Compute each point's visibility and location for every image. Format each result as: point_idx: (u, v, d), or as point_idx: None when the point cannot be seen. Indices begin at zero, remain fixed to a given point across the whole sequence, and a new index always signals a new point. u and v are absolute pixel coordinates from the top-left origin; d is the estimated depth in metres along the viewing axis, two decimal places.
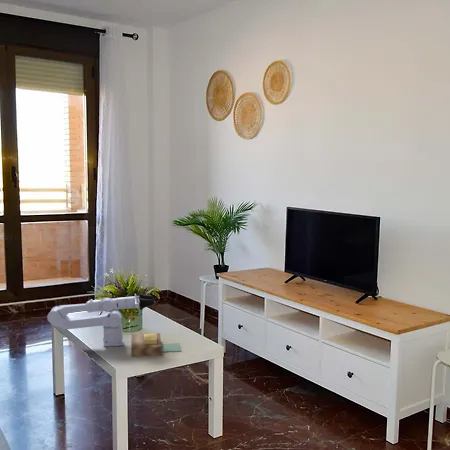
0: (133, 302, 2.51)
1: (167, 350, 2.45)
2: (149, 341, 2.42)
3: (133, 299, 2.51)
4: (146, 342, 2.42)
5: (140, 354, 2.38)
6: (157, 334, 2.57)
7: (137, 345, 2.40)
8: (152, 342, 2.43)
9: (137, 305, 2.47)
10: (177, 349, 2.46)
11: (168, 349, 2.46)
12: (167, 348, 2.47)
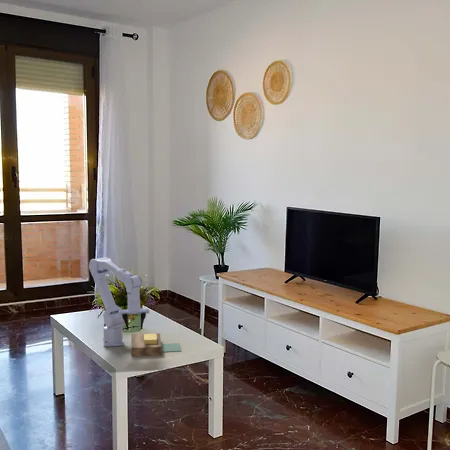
0: (128, 308, 2.43)
1: (167, 350, 2.45)
2: (149, 341, 2.42)
3: (129, 309, 2.41)
4: (146, 342, 2.42)
5: (140, 354, 2.38)
6: (157, 334, 2.57)
7: (137, 345, 2.40)
8: (152, 342, 2.43)
9: (118, 313, 2.42)
10: (177, 349, 2.46)
11: (168, 349, 2.46)
12: (167, 348, 2.47)
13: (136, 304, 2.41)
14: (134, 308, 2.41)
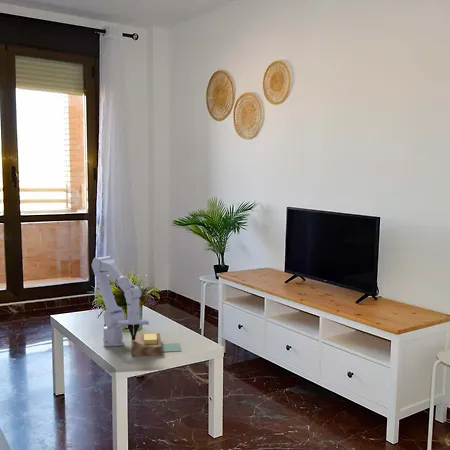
0: (127, 319, 2.43)
1: (167, 350, 2.45)
2: (149, 341, 2.42)
3: (128, 320, 2.42)
4: (146, 342, 2.42)
5: (140, 354, 2.38)
6: (157, 334, 2.57)
7: (137, 345, 2.40)
8: (152, 342, 2.43)
9: (118, 323, 2.43)
10: (177, 349, 2.46)
11: (168, 349, 2.46)
12: (167, 348, 2.47)
13: (136, 315, 2.42)
14: (133, 319, 2.42)
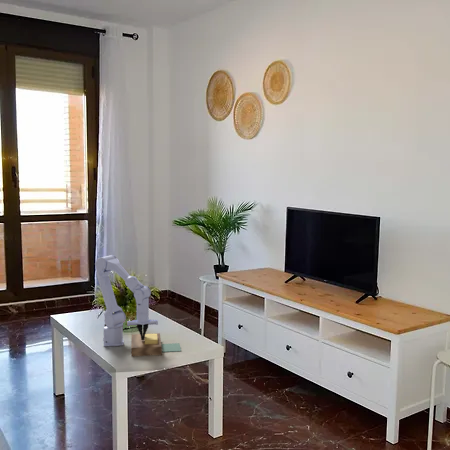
0: None
1: (167, 350, 2.45)
2: (150, 341, 2.42)
3: (138, 320, 2.43)
4: (147, 342, 2.42)
5: (140, 354, 2.38)
6: (157, 334, 2.57)
7: (137, 345, 2.40)
8: (153, 342, 2.43)
9: (127, 323, 2.44)
10: (177, 349, 2.46)
11: (168, 349, 2.46)
12: (167, 348, 2.47)
13: (145, 315, 2.43)
14: (143, 319, 2.42)
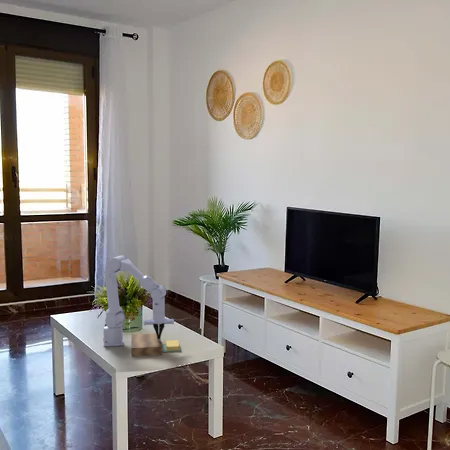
0: (153, 319, 2.45)
1: None
2: (174, 348, 2.44)
3: (154, 320, 2.44)
4: (177, 347, 2.45)
5: (140, 354, 2.38)
6: None
7: (137, 345, 2.40)
8: (171, 347, 2.44)
9: None
10: None
11: None
12: None
13: (161, 315, 2.44)
14: (159, 319, 2.44)
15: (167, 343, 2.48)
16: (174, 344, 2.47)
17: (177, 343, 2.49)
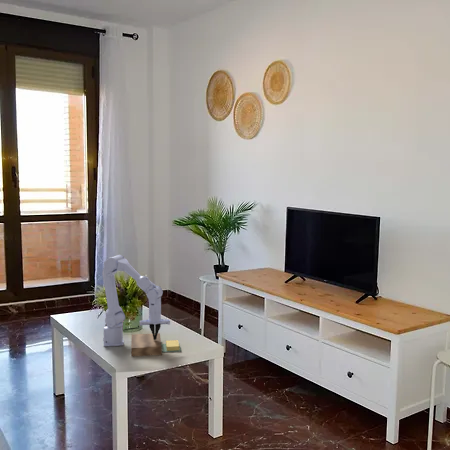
0: (149, 319, 2.45)
1: None
2: (174, 348, 2.44)
3: (150, 320, 2.44)
4: (177, 347, 2.45)
5: (140, 354, 2.38)
6: (157, 334, 2.57)
7: (137, 345, 2.40)
8: (171, 347, 2.44)
9: None
10: None
11: None
12: None
13: (157, 315, 2.44)
14: (155, 319, 2.43)
15: (167, 343, 2.48)
16: (174, 344, 2.47)
17: (177, 343, 2.49)
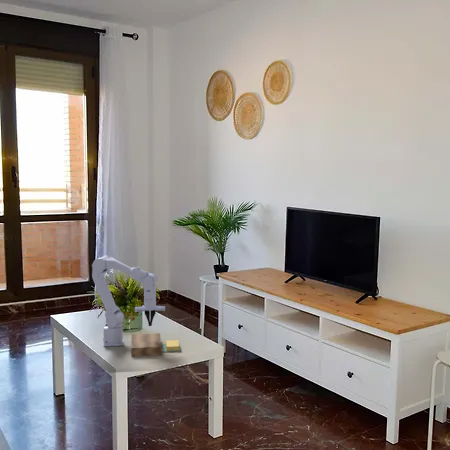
0: (144, 305, 2.48)
1: None
2: (174, 348, 2.44)
3: (145, 306, 2.47)
4: (177, 347, 2.45)
5: (140, 354, 2.38)
6: (157, 334, 2.57)
7: (137, 345, 2.40)
8: (171, 347, 2.44)
9: (135, 309, 2.48)
10: None
11: None
12: None
13: (152, 301, 2.47)
14: (150, 305, 2.46)
15: (167, 343, 2.48)
16: (174, 344, 2.47)
17: (177, 343, 2.49)
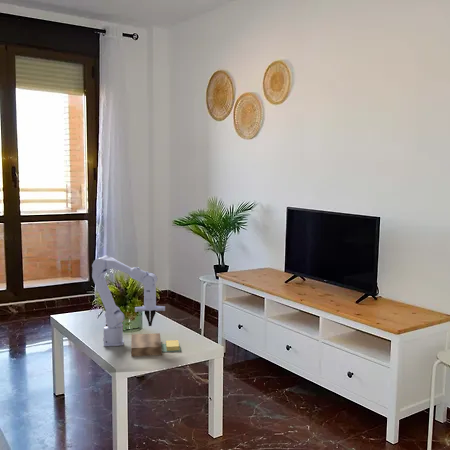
0: (144, 305, 2.48)
1: None
2: (174, 348, 2.44)
3: (145, 306, 2.47)
4: (177, 347, 2.45)
5: (140, 354, 2.38)
6: (157, 334, 2.57)
7: (137, 345, 2.40)
8: (171, 347, 2.44)
9: (135, 309, 2.48)
10: None
11: None
12: None
13: (152, 301, 2.47)
14: (150, 305, 2.46)
15: (167, 343, 2.48)
16: (174, 344, 2.47)
17: (177, 343, 2.49)
